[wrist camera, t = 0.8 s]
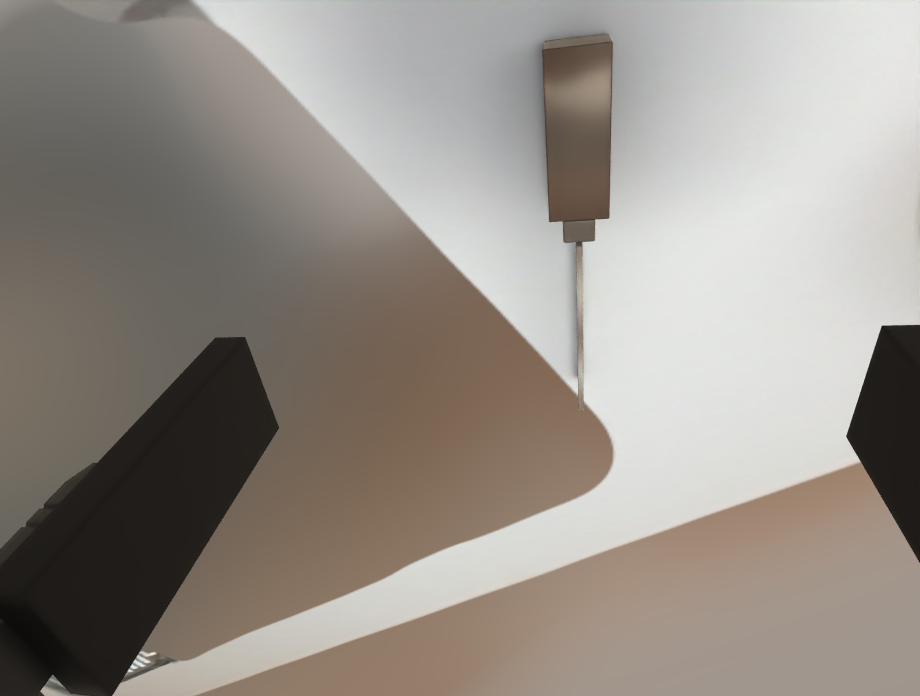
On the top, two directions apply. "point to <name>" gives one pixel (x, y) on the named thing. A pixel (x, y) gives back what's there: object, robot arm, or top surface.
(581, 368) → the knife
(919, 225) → the top surface
